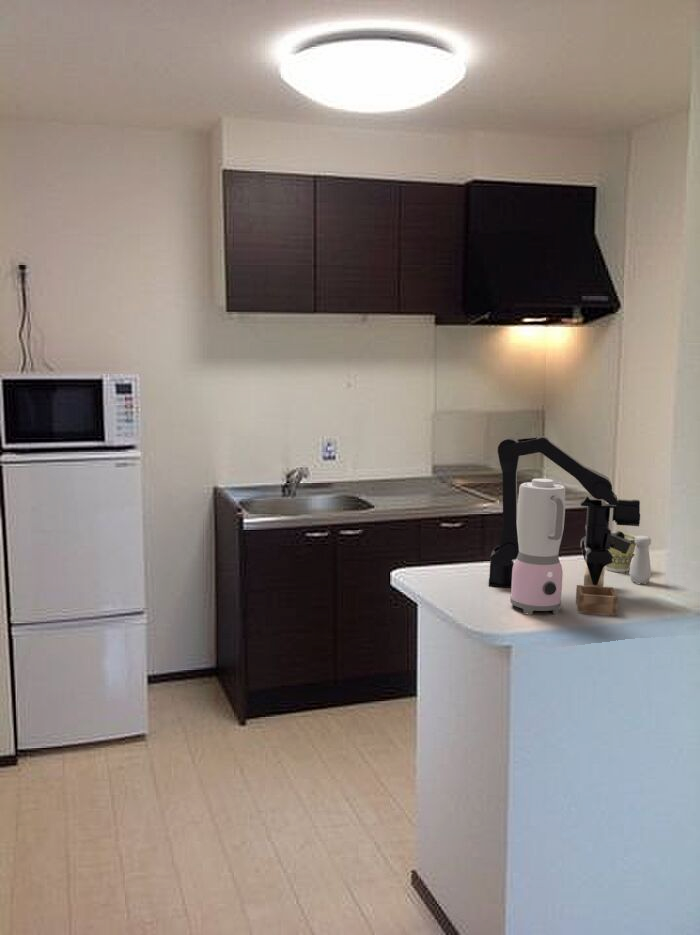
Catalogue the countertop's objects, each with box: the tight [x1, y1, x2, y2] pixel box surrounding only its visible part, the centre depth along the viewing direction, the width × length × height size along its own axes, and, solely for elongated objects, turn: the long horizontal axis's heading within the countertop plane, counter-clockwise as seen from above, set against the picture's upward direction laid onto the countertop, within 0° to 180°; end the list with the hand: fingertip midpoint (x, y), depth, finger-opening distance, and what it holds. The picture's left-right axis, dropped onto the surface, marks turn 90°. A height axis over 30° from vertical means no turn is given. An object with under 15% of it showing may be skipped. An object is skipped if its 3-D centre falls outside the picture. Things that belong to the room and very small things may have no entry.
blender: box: [510, 478, 566, 615], centre depth 214 cm, size 16×12×32 cm
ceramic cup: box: [605, 531, 637, 573], centre depth 257 cm, size 13×10×10 cm
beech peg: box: [583, 558, 606, 587], centre depth 232 cm, size 5×5×10 cm
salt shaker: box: [628, 534, 652, 585], centre depth 244 cm, size 6×6×13 cm
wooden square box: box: [575, 584, 618, 617], centre depth 218 cm, size 9×9×5 cm
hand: (593, 581), depth 233 cm, fingers open, 6 cm apart
